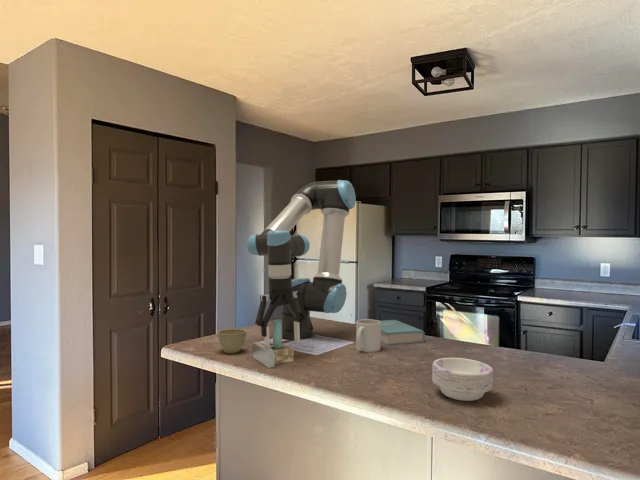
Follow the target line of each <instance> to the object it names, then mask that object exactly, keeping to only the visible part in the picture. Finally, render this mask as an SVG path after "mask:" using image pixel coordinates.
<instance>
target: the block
mask: <svg viewBox="0 0 640 480" xmlns="http://www.w3.org/2000/svg"><path fill="white" fill-rule="evenodd" d="M268 348H270V349H272V350H273V344H272V345H270V347H268ZM273 351H275V365H276V364H279V365H280V364H284V363H291V362H294V360H295V359H294V356H295V355H294V348H292V347H290V346H288V345H287V344H286V343H282V349H278V350H273Z"/></svg>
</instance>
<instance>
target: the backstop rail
mask: <svg viewBox="0 0 640 480" xmlns="http://www.w3.org/2000/svg"><path fill="white" fill-rule="evenodd" d="M252 358H254V359H255V360H257V362H259V363H261V364H262V365H263V366H265V367H266V368H268V369H271V368H275V365H276V364H275V351H273V350H272V349H270V348H268V347H267V346H265V345H264V344H263V343H261V342H260V341H253V342H252Z"/></svg>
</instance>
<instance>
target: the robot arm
mask: <svg viewBox="0 0 640 480" xmlns="http://www.w3.org/2000/svg"><path fill="white" fill-rule="evenodd" d="M356 199H357V197H356V192H355V188H354V186H353V184H352V182H350V181H349V180H342V179H338V180H324V181H323V180H322V181H320V180H319V181H313V182H311V183H308V184H306V185H304V186H303V187H302V188H300V189H299V190H298V191H296V192H295V193H294V194H293V196H292V197H290V201H289V203H288V204H287V205H286V206H285V207H284V209H283V210H282V211H280V212H279V214H278V215H277V216H276V217H275V218H274V219H273V220H272V221H271V222H270V223H269V225H267V227H265V229H264V230H263V231H261V233H260V234H258V233H257V234H252V235H250V236H249V237H248V239H247V241H246V248H247V251H248V252H249V254H251V255H252V256H259V257H262V256H263V257H267V260H268V262H267V269H268V270H267V271H268V272H267V273H268V277H269V278H268V294H260V295H259V300H260V301H259V306H258V310H257V315H256V318H255V325H256V326H258V327H260V332H261V334H260V335H261V336H262V337H263V340H264V341H263V342H264V344H263V345H265V346H267V347H270V344H271V343H270V340H271V339H270V326H268V324H269V322H270V320H271V318H272V316H273V313H274V312H275V310H276V309H277V307H280V306H281V309H280V311H281V314H280V315H281V317H280V319H279V320H282V339H287V340H289V339H290V340H294V341H295V342H297V343H300V342H301V340H302V339H309V338H313V337H314V336H315V330H314V329H315V328H314V326H313V323H312V320H311V317H310V315H311V314H310V313H311V312H315V313H317V312H318V313H325V314H336V313H339V312H340V311H341V310H342V309H343V308H344V306H345V303H346V300H347V296H348V295H347V287H346V285H345V284H343V279H342V278H341V276H340V269H341V267H340V266H341V259H342V258H341V257H342V250H343V249H342V248H343V240H344V239H343V238H344V230H345V219H346V217H348V216H349V215H350V210H352V209H354V208H355V206H356ZM315 210H320V212H321V214H322V215H323V222H322V232H321V240H320V250H319V258H318V266H317V268H318V269H317V273H316V274H315V275H314V276H313V277H312V281H311V278H309V277H304V278H293V279H292V277H291V276H292V263H291V262H292V258H296V257H302V256H305V255H306V254H307V253H308V252H309V250H310V246H311V245H310V240H309V239H308V237H306V236H305V235H303V234H291V233H290V232H291V231H292V229H293V228H294V227H295V226H296V225H297V224H298V223H299V221H300V220H301V219H302V218H303V217H304V216H305V215H308V214H309V213H310V212H311V211H315ZM268 300H270V303H269V304H268V308H267V310H266V307H267V302H268ZM265 311H266V312H265Z"/></svg>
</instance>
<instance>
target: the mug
mask: <svg viewBox="0 0 640 480" xmlns="http://www.w3.org/2000/svg"><path fill="white" fill-rule="evenodd" d="M380 321H381V320H378V319H371V318H365V319H364V318H363V319H358V320H356V322H355V349H356V350H357V351H358V352H359V351H360V352H363V353H364V352H365V353H366V352H367V353H375V352H379V351H380V350H381V346H382V345H381V343H382V342H381V322H380Z"/></svg>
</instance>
